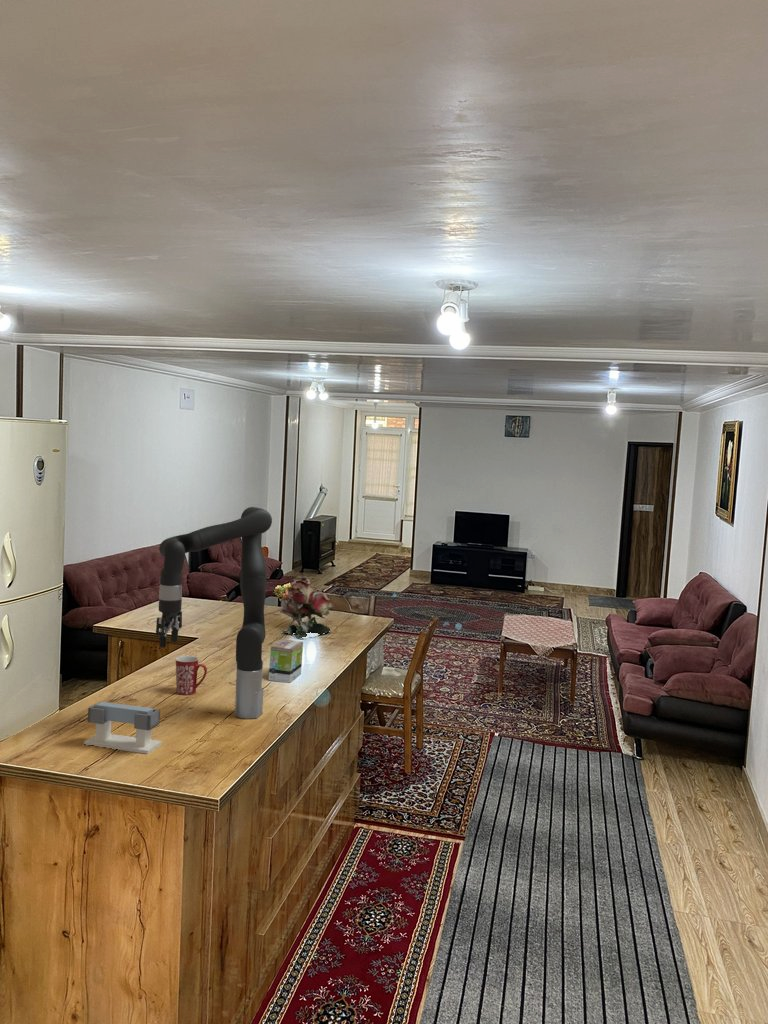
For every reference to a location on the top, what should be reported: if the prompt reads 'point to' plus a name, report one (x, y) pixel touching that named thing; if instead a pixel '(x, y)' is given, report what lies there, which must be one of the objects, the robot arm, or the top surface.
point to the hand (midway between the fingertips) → (168, 644)
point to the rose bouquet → (305, 607)
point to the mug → (188, 674)
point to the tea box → (285, 660)
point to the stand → (126, 743)
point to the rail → (122, 712)
